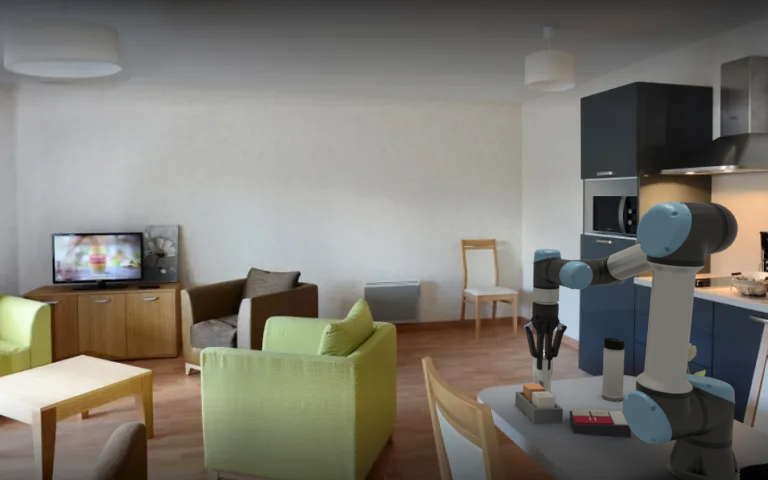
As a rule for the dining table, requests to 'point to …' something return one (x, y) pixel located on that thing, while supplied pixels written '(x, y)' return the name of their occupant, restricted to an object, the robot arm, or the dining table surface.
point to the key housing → (538, 411)
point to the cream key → (543, 400)
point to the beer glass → (549, 377)
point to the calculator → (600, 423)
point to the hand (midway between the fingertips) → (543, 380)
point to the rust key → (531, 390)
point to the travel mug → (613, 369)
